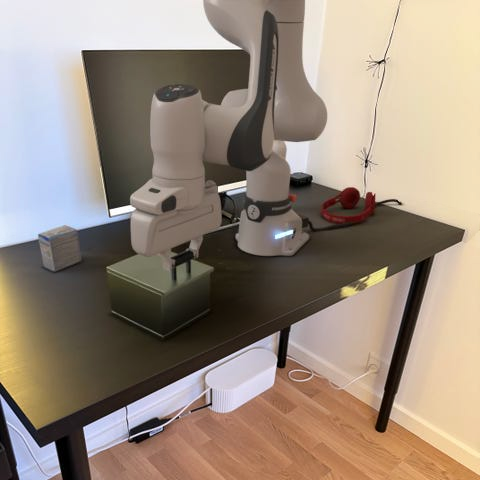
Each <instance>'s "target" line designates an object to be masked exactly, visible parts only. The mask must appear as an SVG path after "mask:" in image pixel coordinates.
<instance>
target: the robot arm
mask: <svg viewBox="0 0 480 480" xmlns="http://www.w3.org/2000/svg"><path fill="white" fill-rule="evenodd" d="M202 2H203V3H202V5H203V10H204V14H205V16H206V19H207V21H208V23H209V24H210V26H211V27H212V28H213V30H214V31H215V32H216V33H217V34H218V35H219V36H220V37H221V38H223V39H224V40H226V41H227V42H229V43H230V44H232V45H234V46H236V47H238V48H240V49H241V50H243V51H245V52H246V53H247V54H248V55H250V57H249V58H250V62H249V74H248V85H247V86H248V88H241V89H235V90H230V91H228V92H227V93H226V95H225V96H224V97H223V99H222V101H221V104H215V103H209V102H207V101H205V100H204V99H203V97H202V93H201V92H202V91H201V90H200V89H199V88H198V87H197V86H196V85H193V84H188V83H187V84H186V83H175V84H168V85H164V86H162V87H159V88H158V89H157V90H155V91H154V93H153V95H152V99H151V104H150V105H151V106H150V116H149V117H150V119H149V120H150V122H149V129H150V130H149V135H150V136H149V137H150V148H151V151H152V155H153V165H152V169H151V171H152V174H151V175H152V178H149V180H148V181H146V183H145V184H143V186H141V187H140V188H138V189H137V190H136V191H134V192H133V193H132V194H130V197H129V203H130V206H131V207H132V208H135V209H134V210H133V211H132V213H131V216H130V241H131V247H132V249H133V251H134V252H135V253H136V254H137V255H138V254H140V255H142V256H145V257H152V256H154V255H157V254H158V255H159V256H160V258H161V259H162V260H163V268H164V269H165V270H168V271H169V270H172V269H174V268H175V260H174V259H171V258H170V256H169V254H170V253H171V252H172V249H173V248H176V247H178V246H180V245H183V244H185V243H188V242H190V243H189V247H188V248H186V250H191V251H192V252H193V254H194V258H193V259H192V260H195V259H197V258H199V250H200V247H201V245H202V243H203V241H204V236H205V235H206V234H209V233H212V232H213V231H216V230H219V229H220V227H221V225H222V221H223V217H222V211H221V202H220V197H219V195H218V186H217V185H216V184H217V183H216V182H214V180H207V181H206V175H205V174H206V170H205V166H204V162H206V163H209V164H210V163H211V164H217V165H223V166H229V167H231V168H234V169H238V170H241V171H245V173H246V174H245V176H246V182H245V183H246V184H245V185H246V186H245V187H246V188H245V193H244V197H243V210H242V211H241V213H240V218H239V226H238V233H236V234H235V236H234V238H235V240H236V241H237V247H238V248H239V249H240V250H241V251H242V252H245V253H247V254H250V255H254V256H262V257H274V256H285V257H287V256H289V257H290V256H293V255H295V254H296V253H297V252H298V251H299V250H300V248H301V247H302V246H304V245H305V243H307V242H308V241H309V239H310V235H309V234H308V233H307V232H305V231H304V230H303V229H304V228H308V226H309V230H311V231H312V232H323V231H328V230H331V229H337V228H343V227H349V226H353V225H356V224H357V223H355V222H348V223H343V224H338V223H335V224H332V225H327V226H324V227H319V228H316V227H314V226H313V222H312V221H311V220H310V218H309V216H306V215H303V214H301V213H299V212H296V211H294V210H293V209H292V204H291V203H295V202H296V201H297V197H298V196H297V194H293V193H290V183H291V182H290V181H291V172H292V171H291V166H290V164H289V162H288V161H287V159H286V160H285V159H284V158H283V157H281V156H280V155H278V154H277V153H275V152H274V151H273V144H274V140H277V141H284V142H291V143H303V142H310V141H311V142H312V141H316V140H317V139H318V138H319V137H321V135H322V134H323V132H324V131H325V129H326V126H327V122H328V110H327V106H326V104H325V101H324V100H323V99H322V97H321V96H320V95H318V93H316V91H315V90H314V89H313V87H312V86H311V84H310V82H309V79H308V78H307V76H306V72H305V69H304V62H303V46H304V45H303V43H304V28H305V27H304V26H305V18H306V17H305V14H306V0H203V1H202ZM398 200H399V199H396V198H389V199H384V200H380V201H377V202H376V201H375V207H376V206H380V205H384V204H387V203H396V204H398V205H399V206H402V205H403V202H402V201H400V200H399V201H400V202H399V201H398ZM186 250H185V251H186Z"/></svg>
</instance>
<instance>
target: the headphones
mask: <svg viewBox="0 0 480 480" xmlns="http://www.w3.org/2000/svg"><path fill="white" fill-rule="evenodd" d="M337 199H338V200H337ZM360 199H361V193H360V190H358V188H356V187H354V186H348V187H346V188H344V189H343V190H342V191H341V192H340V193H339V194H337V195H336V196H334V197H331V198H328V199H327V200H326V201H324V202H323V203H322V204H321V217H322V218H323V219H325V220H326V221H328V222H331V223H334V224H343V223H348V222H355V223H356V224H358V223H361V222H363V221H365V220H366V219H368V218H369V217H370V216H371V215H372V213H373V214H374V211H376V206H375V203H376V193H373V192H372V191H367V192H366V194H365V200H364V212H362V213H360V214H356V215H337V214H333V213H330V212H328V211H327V209H328V208H330V207H333V206H335V205H337V204H338V203H340V205H341V207H343V208H345V209H348V210H349V209H352V208H354V207H355V206H357V205H358V203H359V202H360Z"/></svg>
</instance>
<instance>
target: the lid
mask: <svg viewBox="0 0 480 480" xmlns="http://www.w3.org/2000/svg"><path fill="white" fill-rule="evenodd" d="M169 256H170V258H171V259H174V260H175V268H174V269H172V270H169V271H168V270H165V269H164V268H163V260H162V259H161V258H160V256H159V255H158V254H157V255H154V256H152V257H145V256H142V255H140V254H138V253H137V254H135V255H133V256H130V257H128V258H126V259H123V260H121V261H118V262H116V263H113V264H111V265H108V266H106V272H107V271H109V272H111V273H113V274H115V275H118V276H120V277H122V278H124V279H127V280H129V281H131V282H134V283H136V284H138V285H140V286H143V287H145V288H147V289H149V290H152V291H154V292H156V293H159V294H161V295H163V296H166V295H168V294H170V293H172V292H174V291H176V290H178V289H180V288H182V287H184V286H185V285H187V284H189V283H191V282H193V281H195V280H197V279H199V278H201V277H203V276H205V275H207V274H209V273H210V274H211V273H213V272H214V271H215V267H214V266H211V265H208V264H206V263H203V262H200V261H197V260H195V259H193V258H194V254H193V252H192V251H191V250H184V251H182V252H179V253H177V252H173V251H171V253H170V254H169ZM192 259H193V260H192Z"/></svg>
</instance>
